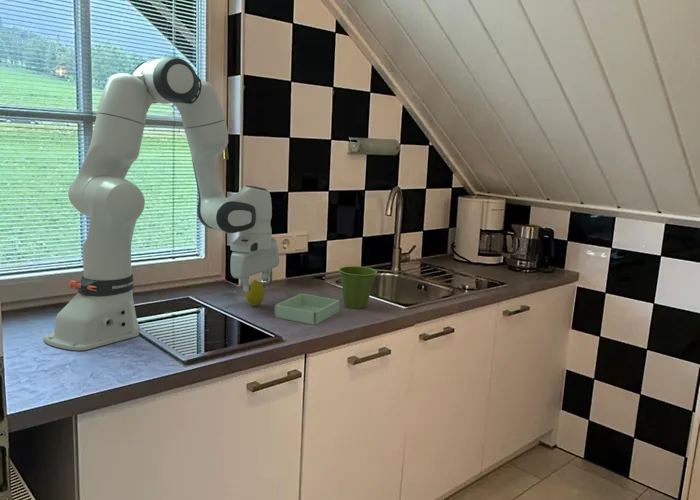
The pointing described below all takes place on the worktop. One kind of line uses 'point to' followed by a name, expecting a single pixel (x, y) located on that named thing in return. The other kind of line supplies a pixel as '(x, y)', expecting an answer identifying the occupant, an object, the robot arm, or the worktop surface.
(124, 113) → the robot arm
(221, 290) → the worktop surface
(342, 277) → the plant pot
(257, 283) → the lemon
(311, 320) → the tray
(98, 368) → the worktop surface
